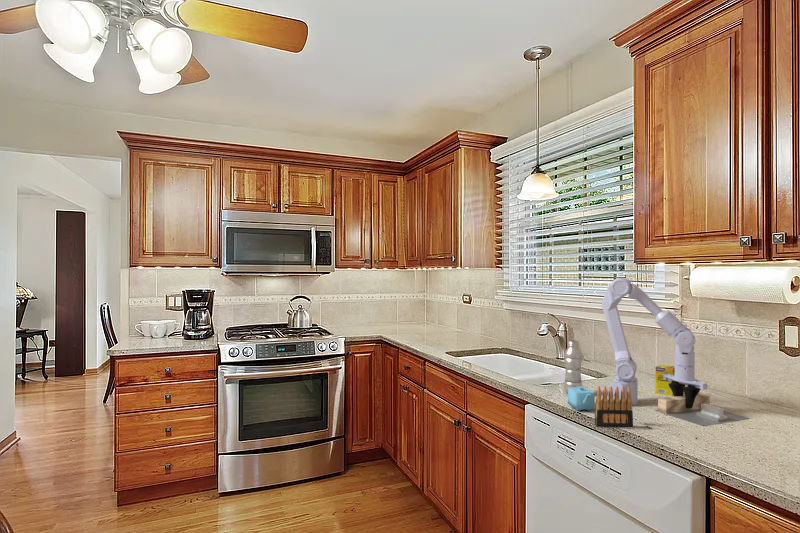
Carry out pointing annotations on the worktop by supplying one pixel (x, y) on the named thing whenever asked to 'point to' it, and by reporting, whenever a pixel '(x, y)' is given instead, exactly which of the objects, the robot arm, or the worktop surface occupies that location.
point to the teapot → (581, 398)
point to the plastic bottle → (572, 365)
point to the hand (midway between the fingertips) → (684, 406)
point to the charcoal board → (694, 418)
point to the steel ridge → (712, 412)
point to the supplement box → (661, 384)
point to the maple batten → (681, 403)
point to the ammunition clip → (613, 409)
